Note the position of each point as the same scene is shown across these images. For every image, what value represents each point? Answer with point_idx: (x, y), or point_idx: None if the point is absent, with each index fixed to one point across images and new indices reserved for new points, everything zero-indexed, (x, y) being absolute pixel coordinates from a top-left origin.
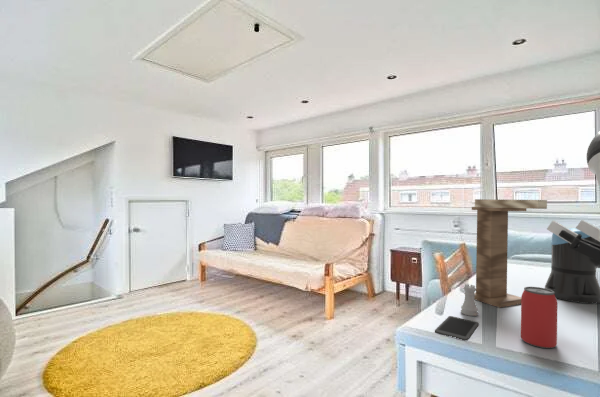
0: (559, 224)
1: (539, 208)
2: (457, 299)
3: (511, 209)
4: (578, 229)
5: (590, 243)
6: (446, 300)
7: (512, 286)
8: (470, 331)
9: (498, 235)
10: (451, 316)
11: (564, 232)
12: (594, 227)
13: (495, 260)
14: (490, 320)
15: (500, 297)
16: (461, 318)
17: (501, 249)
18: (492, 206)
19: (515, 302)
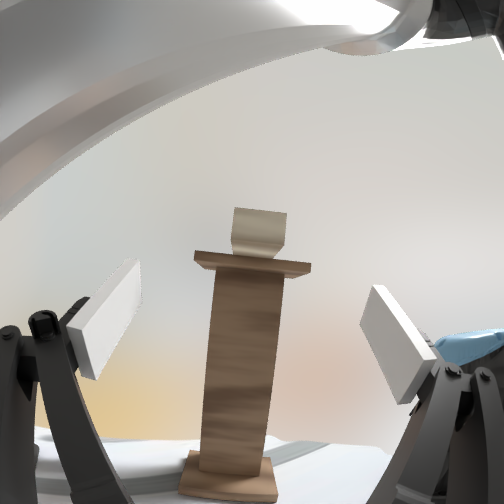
0: (115, 272)
1: (238, 239)
2: (158, 449)
3: (240, 260)
4: (363, 331)
5: (41, 383)
6: (133, 441)
7: (359, 447)
8: None
9: (239, 338)
10: (35, 445)
11: (73, 305)
12: (396, 320)
13: (222, 399)
14: (67, 489)
15: (224, 477)
16: (35, 455)
17: (248, 376)
18: None
19: (238, 497)
